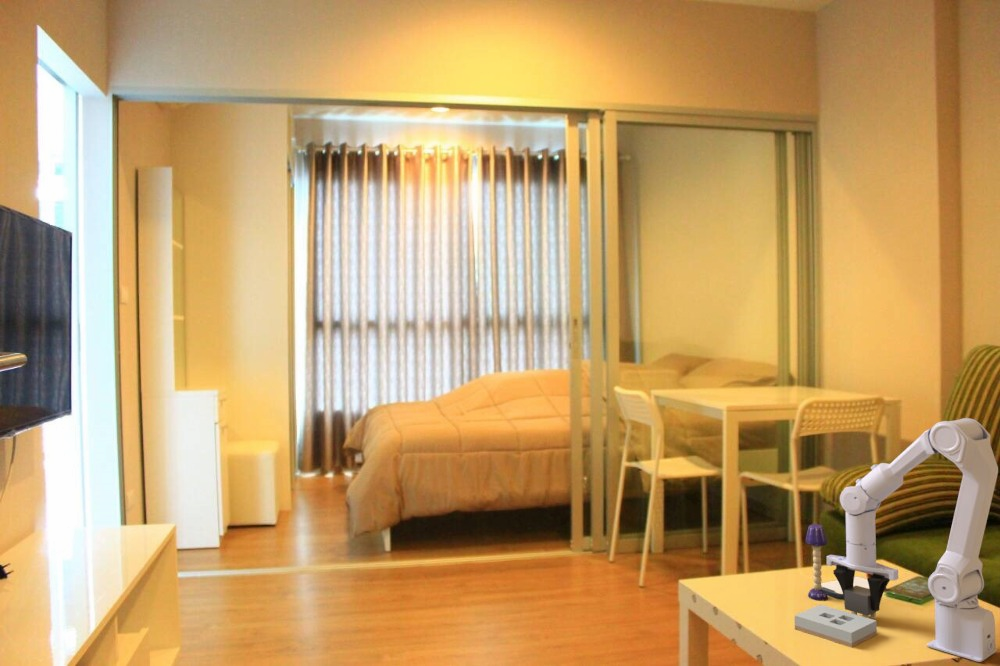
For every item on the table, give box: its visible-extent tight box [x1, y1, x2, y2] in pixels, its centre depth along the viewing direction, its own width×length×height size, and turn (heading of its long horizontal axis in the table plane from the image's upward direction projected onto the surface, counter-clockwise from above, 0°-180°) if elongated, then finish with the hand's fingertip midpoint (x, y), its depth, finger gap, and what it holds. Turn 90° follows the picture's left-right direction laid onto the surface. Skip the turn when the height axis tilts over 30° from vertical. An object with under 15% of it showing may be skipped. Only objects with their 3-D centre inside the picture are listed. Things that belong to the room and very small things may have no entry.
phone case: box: [821, 575, 887, 601], centre depth 179 cm, size 9×2×16 cm
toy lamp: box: [805, 523, 829, 601], centre depth 174 cm, size 5×5×17 cm
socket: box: [794, 604, 878, 648], centre depth 154 cm, size 12×10×3 cm
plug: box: [844, 586, 881, 619], centre depth 161 cm, size 5×5×6 cm
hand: (862, 605), depth 161 cm, fingers closed on plug, 5 cm apart
